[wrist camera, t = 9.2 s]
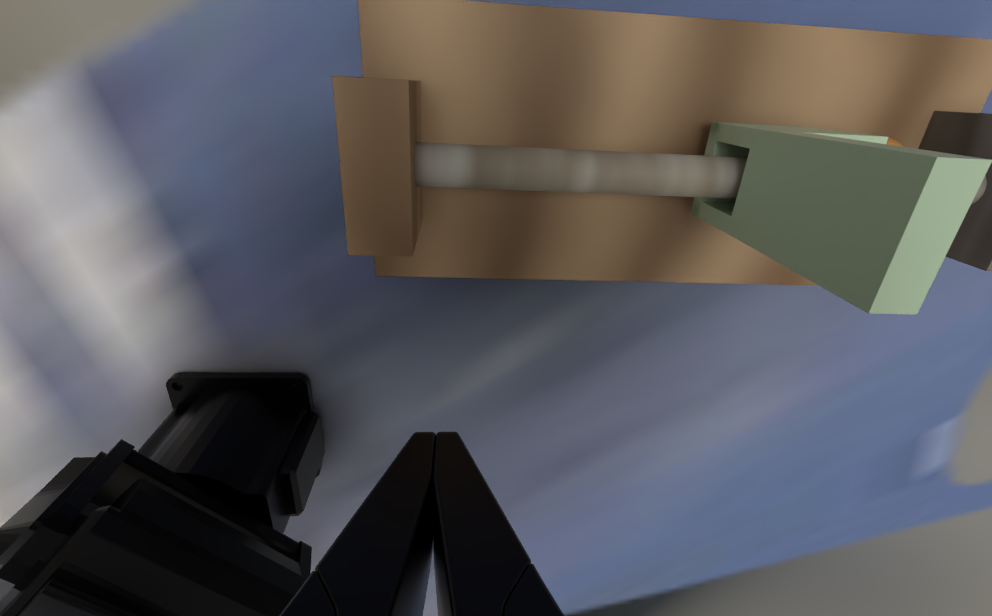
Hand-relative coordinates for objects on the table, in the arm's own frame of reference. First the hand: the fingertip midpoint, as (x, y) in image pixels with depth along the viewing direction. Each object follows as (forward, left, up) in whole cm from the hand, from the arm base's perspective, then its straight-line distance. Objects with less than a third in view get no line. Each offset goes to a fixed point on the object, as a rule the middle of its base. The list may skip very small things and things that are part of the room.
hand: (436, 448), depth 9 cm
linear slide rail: (+9, +4, -13) cm, 16 cm away
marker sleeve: (+12, +4, -11) cm, 16 cm away
